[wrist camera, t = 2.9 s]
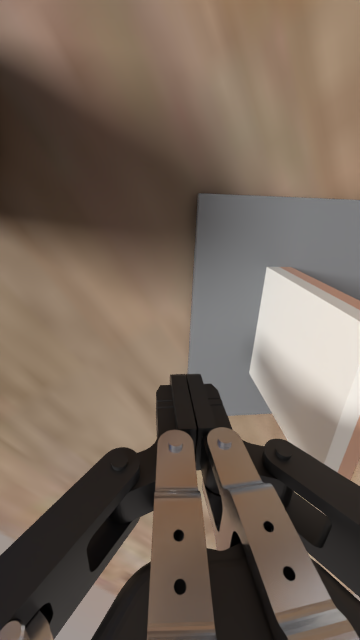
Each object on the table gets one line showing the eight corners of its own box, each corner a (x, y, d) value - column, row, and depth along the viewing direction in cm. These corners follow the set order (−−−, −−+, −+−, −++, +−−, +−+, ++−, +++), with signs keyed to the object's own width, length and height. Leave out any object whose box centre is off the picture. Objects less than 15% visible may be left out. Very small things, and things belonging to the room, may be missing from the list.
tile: (266, 266, 19) (372, 328, 10) (291, 266, 20) (414, 327, 11) (249, 373, 23) (315, 488, 14) (269, 372, 23) (348, 485, 14)
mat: (197, 193, 18) (199, 193, 17) (496, 206, 20) (505, 206, 19) (185, 413, 25) (186, 417, 24) (405, 402, 27) (410, 406, 27)
